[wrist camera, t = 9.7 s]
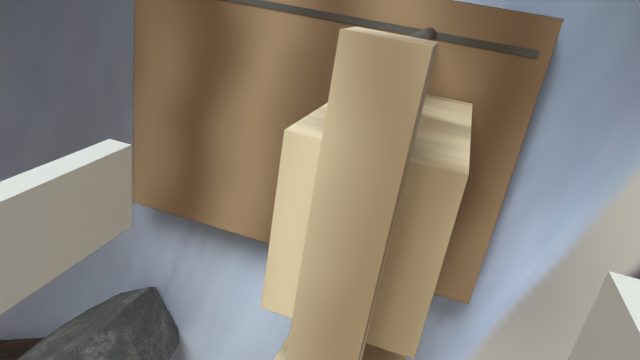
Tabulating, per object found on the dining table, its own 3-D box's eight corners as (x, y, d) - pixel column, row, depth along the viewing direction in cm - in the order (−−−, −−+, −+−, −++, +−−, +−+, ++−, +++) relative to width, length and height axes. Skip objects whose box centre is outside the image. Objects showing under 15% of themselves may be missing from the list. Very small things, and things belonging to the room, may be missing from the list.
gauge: (332, 271, 28) (223, 467, 16) (382, 12, 22) (275, 16, 11) (416, 297, 27) (367, 528, 15) (491, 31, 21) (508, 60, 9)
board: (153, 190, 31) (132, 202, 29) (158, -49, 25) (134, -53, 23) (469, 284, 26) (468, 304, 24) (556, 18, 21) (563, 18, 19)
